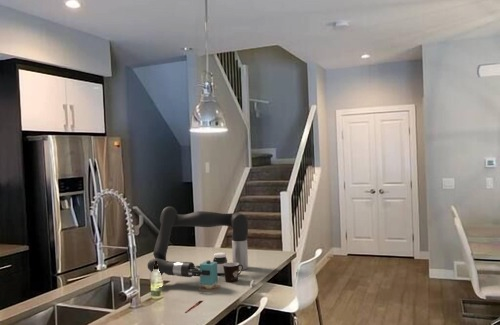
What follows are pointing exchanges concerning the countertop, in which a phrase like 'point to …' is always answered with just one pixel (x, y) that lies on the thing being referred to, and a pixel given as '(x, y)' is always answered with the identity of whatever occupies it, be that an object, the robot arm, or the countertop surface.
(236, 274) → the coffee mug
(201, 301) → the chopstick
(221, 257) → the spread jar
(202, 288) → the walnut board
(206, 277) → the teal rectangular block
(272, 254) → the countertop surface
